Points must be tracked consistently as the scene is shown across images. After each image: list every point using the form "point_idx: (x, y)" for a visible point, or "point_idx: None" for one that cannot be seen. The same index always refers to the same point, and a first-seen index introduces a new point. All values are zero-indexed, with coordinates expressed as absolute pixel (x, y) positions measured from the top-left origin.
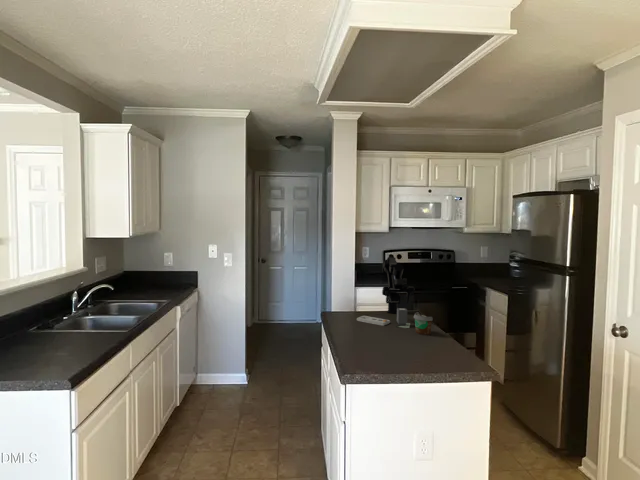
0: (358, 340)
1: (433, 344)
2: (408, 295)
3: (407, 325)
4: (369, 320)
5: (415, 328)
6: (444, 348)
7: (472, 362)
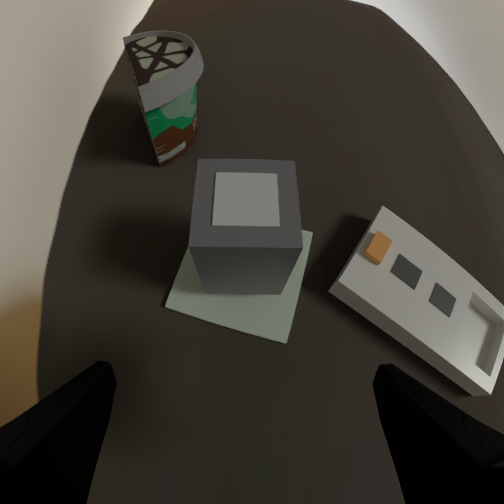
0: (419, 86)
1: None
2: (15, 437)
3: None
4: (460, 267)
5: (194, 124)
6: None
7: (162, 6)
